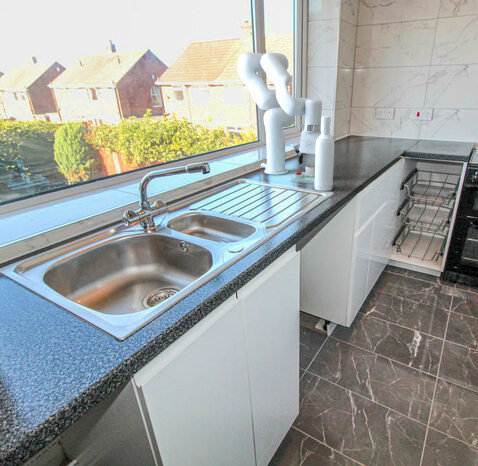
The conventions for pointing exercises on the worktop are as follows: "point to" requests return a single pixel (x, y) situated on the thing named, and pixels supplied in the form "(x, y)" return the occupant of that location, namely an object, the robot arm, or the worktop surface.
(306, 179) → the scale
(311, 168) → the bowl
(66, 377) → the worktop surface
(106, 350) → the worktop surface
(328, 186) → the bottle
